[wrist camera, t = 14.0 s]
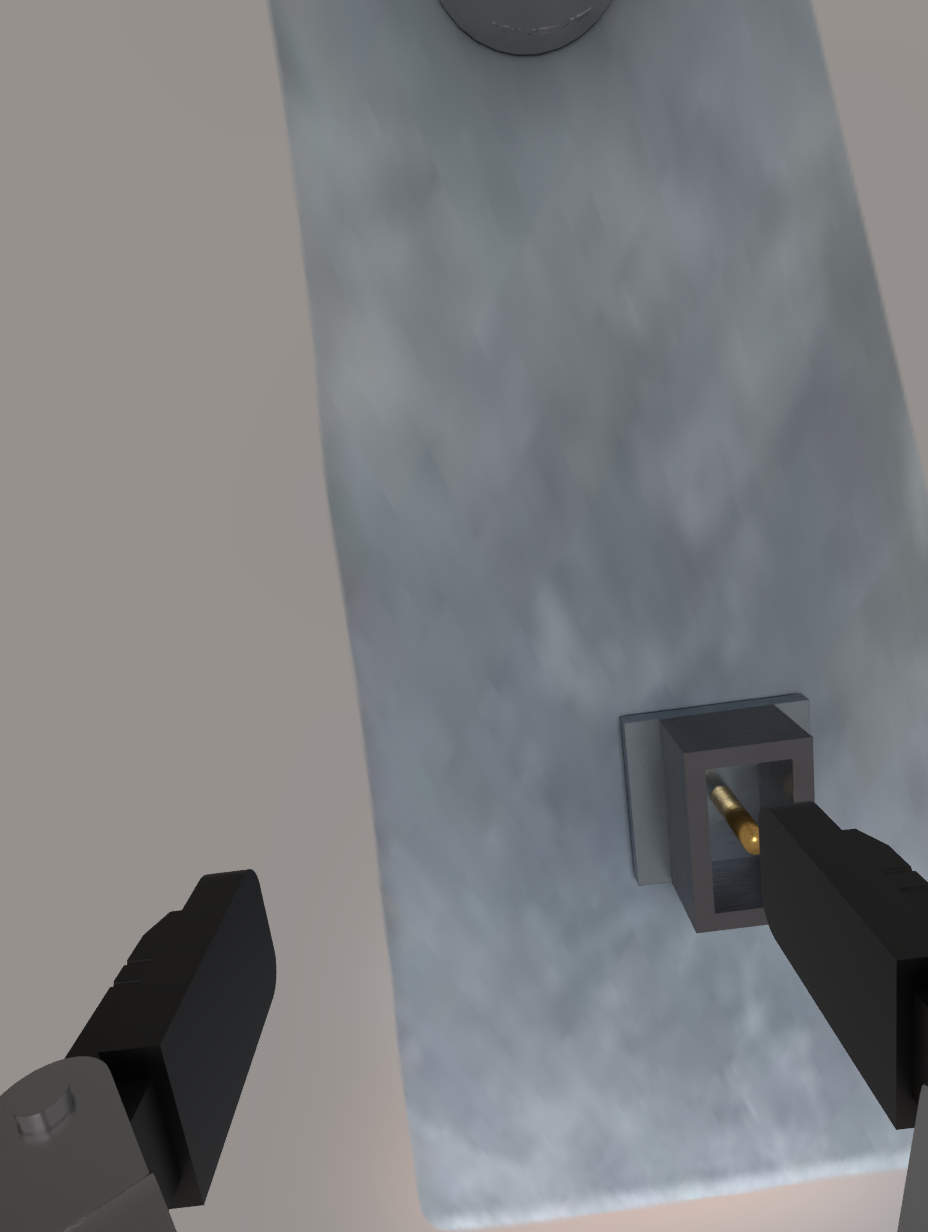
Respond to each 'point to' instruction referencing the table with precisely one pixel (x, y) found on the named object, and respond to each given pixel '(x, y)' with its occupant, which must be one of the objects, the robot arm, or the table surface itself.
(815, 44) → the table surface
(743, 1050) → the table surface
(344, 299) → the table surface
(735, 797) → the peg plate
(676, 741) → the grey storage bin
